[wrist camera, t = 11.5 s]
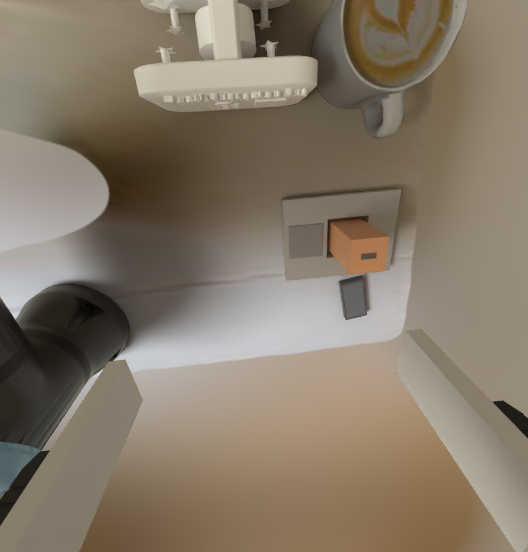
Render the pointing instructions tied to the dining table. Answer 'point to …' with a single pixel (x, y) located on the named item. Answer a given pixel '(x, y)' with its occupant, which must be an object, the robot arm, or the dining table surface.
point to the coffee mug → (382, 53)
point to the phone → (353, 297)
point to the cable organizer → (224, 62)
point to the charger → (358, 246)
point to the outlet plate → (313, 228)
